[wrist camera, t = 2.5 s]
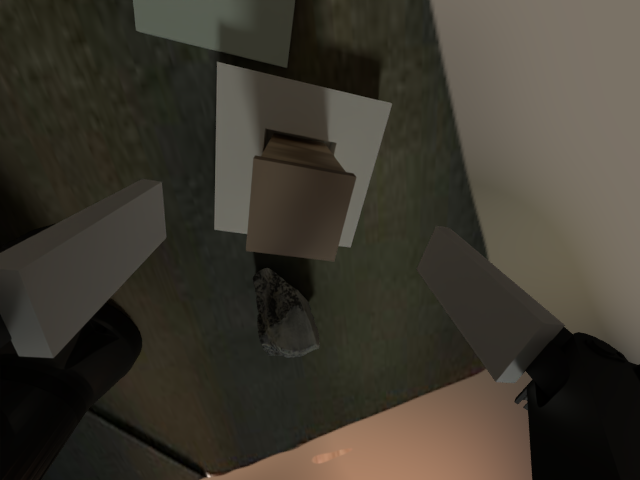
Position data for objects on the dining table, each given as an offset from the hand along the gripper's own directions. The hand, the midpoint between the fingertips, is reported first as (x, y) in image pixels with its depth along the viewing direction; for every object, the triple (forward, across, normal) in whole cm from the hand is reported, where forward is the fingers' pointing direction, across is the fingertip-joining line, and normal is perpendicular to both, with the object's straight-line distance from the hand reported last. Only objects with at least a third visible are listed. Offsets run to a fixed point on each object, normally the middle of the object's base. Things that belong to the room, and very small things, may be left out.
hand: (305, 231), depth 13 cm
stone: (+17, +1, -18) cm, 25 cm away
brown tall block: (+16, 0, 0) cm, 16 cm away
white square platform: (+16, 0, 0) cm, 16 cm away
